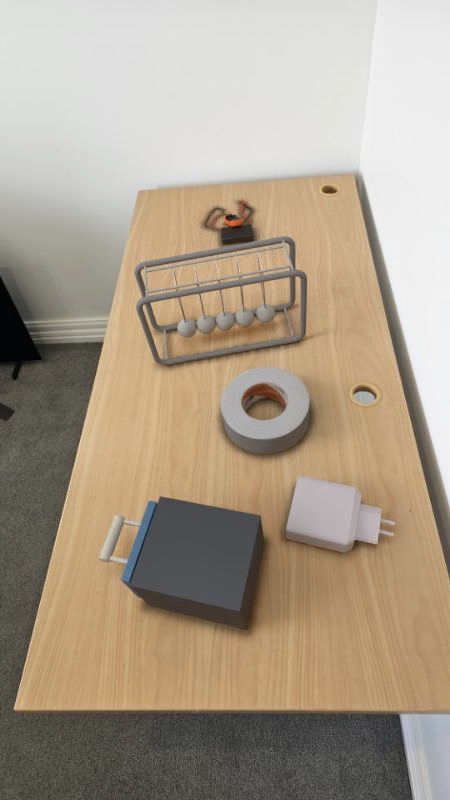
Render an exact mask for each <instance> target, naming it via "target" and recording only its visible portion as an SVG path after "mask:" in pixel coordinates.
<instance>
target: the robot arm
mask: <svg viewBox="0 0 450 800" xmlns="http://www.w3.org/2000/svg"><path fill="white" fill-rule="evenodd" d="M15 412H16V410H15V409H13V408H12V407H9V406H7V405H5V404H4V403H2V402H0V420H2V421H3V422H8V421H9V420H10V419H11V418H12V417H13V415H14V413H15Z"/></svg>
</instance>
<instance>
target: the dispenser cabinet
mask: <svg viewBox="0 0 450 800" xmlns="http://www.w3.org/2000/svg"><path fill="white" fill-rule="evenodd" d="M265 541H266V540H265V534H264V529H263V522H262V516H261V514H255V513H250V512H245V511H240V510H234V509H230V508H224V507H219V506H213V505H209V504H203V503H198V502H192V501H188V500H182V499H176V498H171V497H166V496H159V497H158V501H157V506H156V509H155V512H154V515H153V518H152V521H151V524H150V527H149V530H148V533H147V536H146V539H145V541H144V544H143V547H142V550H141V553H140V556H139V559H138V562H137V565H136V568H135V571H134V574H133V576H132V579H131V582H130V587H131V588H132V589H133V590H134V591H135V592H136V593H137V594H138V595H139V596H140V597H141V598H140V599H141V600H143V602H145V603H146V604H147V606H149V607H153V608H157V609H160V610H164V611H167V612H173V613H177V614H181V615H184V616H188V617H193V618H196V619H197V618H198V619H201V620H205V621H208V622H213V623H217V624H221V625H224V626H225V625H226V626H230V627H233V628H238V629H242V630H245V631H247V630H248V627H249V621H250V618H251V617H250V616H251V611H252V607H253V602H254V597H255V593H256V587H257V582H258V578H259V573H260V568H261V563H262V560H263V559H262V558H263V554H264V553H263V552H264V549H265V543H266V542H265Z"/></svg>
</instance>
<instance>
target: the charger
mask: <svg viewBox="0 0 450 800" xmlns="http://www.w3.org/2000/svg"><path fill="white" fill-rule="evenodd" d="M361 500H362V493H361V492H360V490H359V489H358V487H357V486H352V485H349V484H348V485H347V484H344V483H339V482H334V481H329V480H323V479H319V478H314V477H311V476H310V477H309V476H305V475H300V474H298V476H297V479H296V482H295V488H294V492H293V496H292V500H291V505H290V509H289V512H288V517H287V522H286V528H285V539H286V540H290V541H294V542H299V543H303V544H306V545H311V546H314V547H319V548H323V549H326V550H331V551H335V552H338V553H339V552H340V553H343V554H346V553H347V552H349V551H350V550H352V549H353V548H354V544H355V541H358V542H359V541H360V542H363V543H369V544H373V545H378V542H379V541H378V540H379V536H380V535H379V534H381V535H384V536H389V537H394V536H395V533H394V532H391V531H387V530H383V529H380V527H381V523H382V524H387V525H390V526H395V525H396V521H394V520H393V521H392V520H388V519H385V518H384V519H383V518H382V507H378V506H375V505H374V506H373V505H370V504H369V505H368V504H366V503H365V504H364V503H361Z"/></svg>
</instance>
